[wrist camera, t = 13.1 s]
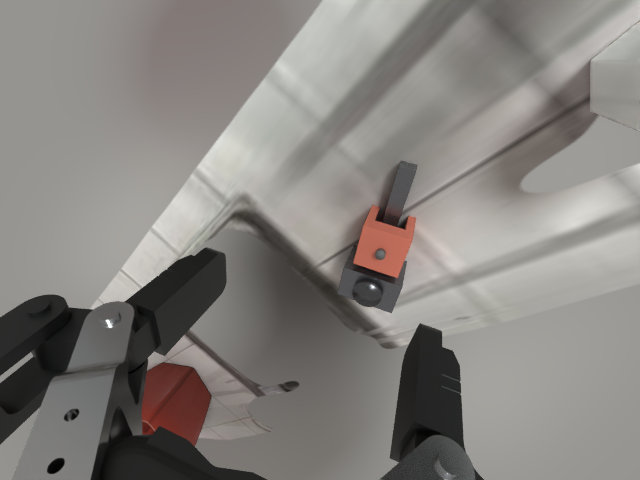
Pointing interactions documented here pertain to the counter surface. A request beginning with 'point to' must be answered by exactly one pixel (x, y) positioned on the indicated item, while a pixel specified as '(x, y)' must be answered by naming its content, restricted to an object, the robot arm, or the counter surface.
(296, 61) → the counter surface
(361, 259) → the notched red block
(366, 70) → the counter surface
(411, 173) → the coupler
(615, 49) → the jar
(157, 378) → the plant pot
